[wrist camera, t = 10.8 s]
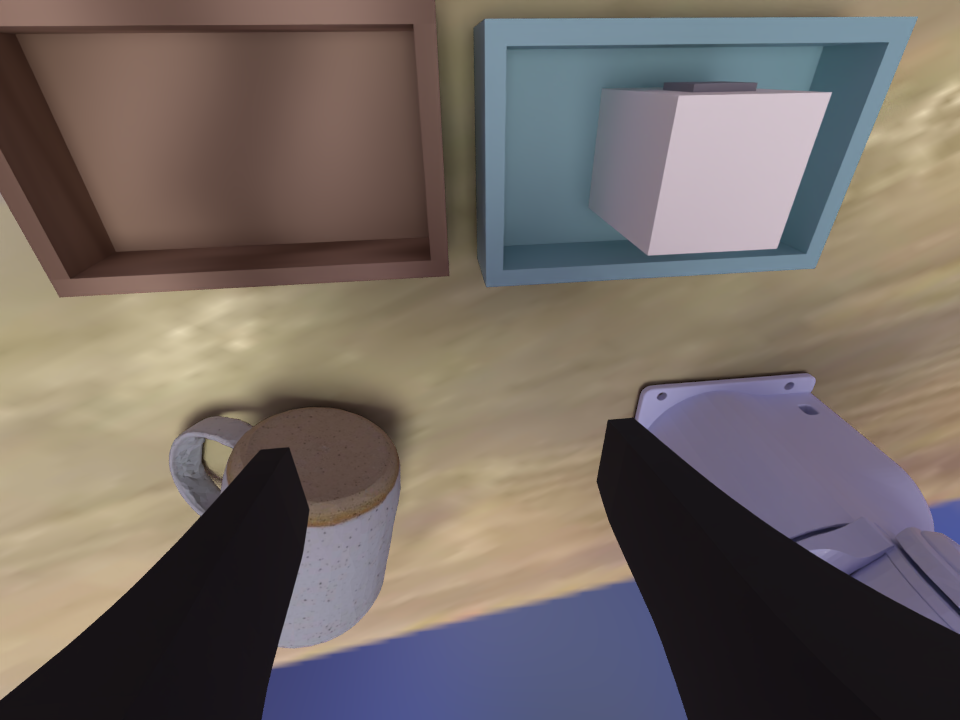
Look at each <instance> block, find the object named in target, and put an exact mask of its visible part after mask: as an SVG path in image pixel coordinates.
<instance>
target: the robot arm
mask: <svg viewBox="0 0 960 720" xmlns="http://www.w3.org/2000/svg"><path fill="white" fill-rule="evenodd" d="M815 382H816V380H815V378H814V377H813V376H812V375H810V374H808V373H802V374H790V375H777V376H764V377H751V378H739V379H726V380H713V381H701V382H688V383H675V384H663V385H651V386H647V387H646V388H644V389H643V390H642V392H641V394H640V398H639V402H638V407H637V411H636V416H635V419H634V418H625V419H613V420H608V422H607V428H606V433H605V439H604V444H603V449H602V455H601V460H600V466H599V471H598V477H597V484H598V488H599V491H600V494H601V498H602V501H603V504H604V507H605V511H606V514H607V517H608V520H609V523H610V525H611V527H612V530H613V532H614V534H615V536H616V539H617V541H618V543H619V545H620V548H621V550H622V552H623V554H624V557H625V559H626V561H627V563H628V565H629V568H630V570H631V572H632V574H633V576H634V579H635V581H636V583H637V585H638V587H639V590H640V592H641V594H642V596H643V599H644V601H645V603H646V605H647V607H648V609H649V612H650V614H651V616H652V619H653V621H654V623H655V626H656V628H657V631H658V634H659V636H660V639H661V641H662V644H663V647H664V650H665V653H666V656H667V659H668V661H669V664H670V667H671V670H672V673H673V675H674V679H675V681H676V684H677V687H678V691H679V694H680V696H681V700H682V703H683V705H684V709H685V712H686V715H687V718H688V720H960V545H958V544H957V543H956V542H954V541H952V539H950V538H949V537H947V536H946V535H944V534H942V533H937V532H934V524H933V518H932V515H931V512H930V509H929V507H928V505H927V503H926V500H925V499H924V497H923V495H922V493H921V491H920V490H919V488H918V487H917V485H916V484H915V482H914V481H913V480H912V479H911V477H910V476H909V475H908V474H907V473H906V472H905V471H904V470H903V469H902V468H901V467H900V466H899V465H898V464H897V463H895V462H894V461H893V460H892V459H890V458H889V457H888V456H887V455H886V454H884V453H883V452H882V451H881V450H880V449H878V448H877V447H876V446H875V445H873V444H872V443H871V442H870V441H869V440H867V439H866V438H865V437H864V436H863V435H861V434H860V433H859V432H858V431H856V430H855V429H854V428H853V427H852V426H850V425H849V424H848V423H847V422H846V421H844V420H843V419H842V418H841V417H839V416H838V415H837V414H836V413H835V412H833V411H832V410H831V409H830V408H828V407H827V406H826V405H825V404H824V403H822V402H821V401H820V400H819V399H818V398H816V397H815V396H814V395H813V394H811V391H812V389H813V387H814V385H815ZM662 392H663V393H662ZM660 393H662V394H661V395H659V396H658V394H660ZM309 510H310V509H309V506H308V503H307V500H306V497H305V494H304V491H303V488H302V485H301V482H300V478H299V475H298V472H297V469H296V466H295V463H294V460H293V457H292V454H291V451H290V448H289V447H284V448H272V449H261V450H260V451H259V452H258V453H257V454H256V455H255V456H254V457H253V458H252V459H251V460H250V462H249V463H248V464H247V465H246V466H245V467H244V468H243V469H242V471H241V472H240V473H239V474H238V475H237V476H236V477H235V479H234V480H233V481H232V482H231V483H230V484H229V485H228V487H227V488H226V489H225V490H224V491H223V492H222V493H221V494H220V496H219V497H218V498H217V499H216V500H215V501H214V502H213V504H212V505H211V506H210V507H209V508H208V509H207V510H206V511H205V512H204V513H203V514H202V516H201V517H200V518H199V519H198V520H197V521H196V522H195V523H194V524H193V525H192V527H191V528H190V529H189V530H188V531H187V532H186V533H185V534H184V535H183V536H182V537H181V538H180V539H179V541H178V542H177V543H176V544H175V545H174V546H173V547H172V548H171V549H170V550H169V551H168V552H167V553H166V554H165V555H164V556H163V557H162V558H161V559H160V560H159V561H158V562H157V563H156V564H155V565H154V566H153V567H152V568H151V569H150V570H149V571H148V572H147V573H146V574H145V575H144V576H143V577H142V578H141V579H140V580H139V581H138V582H137V583H136V584H135V585H134V586H133V587H132V588H131V589H130V590H129V591H128V592H127V593H126V594H124V595H123V596H122V597H121V598H120V599H119V600H118V601H117V602H116V603H115V604H114V605H113V606H112V607H110V608H109V609H108V610H107V611H106V612H105V613H104V614H103V615H102V616H100V617H99V618H98V619H97V620H96V621H95V622H94V623H93V624H91V625H90V626H89V627H88V628H87V629H86V630H85V631H84V632H82V633H81V634H80V635H79V636H78V637H77V638H76V639H74V640H73V641H72V642H71V643H70V644H69V645H67V646H66V647H65V648H64V649H63V650H61V651H60V652H59V653H58V654H57V655H55V656H54V657H53V658H52V659H50V660H49V661H48V662H47V663H46V664H44V665H43V666H42V667H41V668H39V669H38V670H37V671H36V672H35V673H33V674H32V675H31V676H30V677H28V678H27V679H26V680H25V681H24V682H22V683H21V684H20V685H19V686H17V687H16V688H15V689H14V690H13V691H11V692H10V693H9V694H8V695H6V696H5V697H4V698H3V699H2V700H0V720H261V719H262V713H263V708H264V702H265V697H266V692H267V686H268V683H269V678H270V674H271V670H272V666H273V662H274V658H275V655H276V651H277V647H278V644H279V640H280V637H281V633H282V629H283V626H284V622H285V619H286V615H287V611H288V608H289V604H290V601H291V597H292V593H293V590H294V586H295V582H296V579H297V575H298V571H299V568H300V564H301V560H302V556H303V551H304V545H305V538H306V532H307V525H308V517H309Z"/></svg>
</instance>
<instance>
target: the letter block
mask: <svg viewBox="0 0 960 720" xmlns="http://www.w3.org/2000/svg"><path fill="white" fill-rule="evenodd" d="M757 84H758V83H756V82H726V81H712V82H664V86H663V87H648V88H602V92H601V101H600V110H599V118H598V127H597V136H596V145H595V153H594V162H593V171H592V179H591V188H590V197H589V206H588V208H589V209H591V210H592V211H593V212H594V213H596V214H597V215H598V216H599V217H601V218H602V219H603V220H604V221H606V222H607V223H608V224H609V225H611V226H612V227H613V228H614V229H615V230H617V231H618V232H619V233H620V234H622V235H623V236H624V237H625V238H627V239H628V240H629V241H630V242H632V243H633V244H634V245H635V246H636V247H638V248H639V249H640V250H641V251H643V252H644V253H645V254H646V255H648V256H649V255H667V254H686V253H705V252H724V251H743V250H762V249H777V247H778V244H779V241H780V239H781V236H782V233H783V230H784V227H785V224H786V222H787V219H788V216H789V213H790V210H791V207H792V205H793V202H794V199H795V196H796V193H797V190H798V188H799V185H800V182H801V179H802V176H803V173H804V170H805V168H806V165H807V162H808V159H809V156H810V153H811V151H812V148H813V145H814V142H815V139H816V136H817V134H818V131H819V128H820V125H821V122H822V119H823V117H824V114H825V111H826V108H827V105H828V102H829V100H830V97H831V94H832V92H815V91H795V90H776V89H756V88H757Z"/></svg>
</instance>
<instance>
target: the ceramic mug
mask: <svg viewBox="0 0 960 720" xmlns="http://www.w3.org/2000/svg"><path fill="white" fill-rule="evenodd" d="M205 438H207V439H210V440H215V441H217V442H220V443H221V444H223V445H226V446H229V447H231V448H233V450H232V453H231V455H230V457H229V459H228V462H227V465H226V468H225V472H224V475H223V481H222V487H221V490H220V489H219V488H218V487H217V485H216V484H215V483H214V482H213V481H212V479H211V478H210V477H209V476H208V475H207V473H206V472H205V470H204V466H203V464H202V446H203V442H204V441H205ZM284 447H289V448H290V451H291V454H292V457H293V460H294V463H295V466H296V469H297V472H298V475H299V478H300V482H301V485H302V488H303V491H304V494H305V497H306V500H307V503H308V506H309V509H310V510H309V517H308V525H307V532H306V538H305V545H304V551H303V556H302V560H301V564H300V568H299V571H298V575H297V579H296V582H295V586H294V590H293V593H292V597H291V601H290V604H289V608H288V611H287V615H286V619H285V622H284V626H283V629H282V633H281V637H280V640H279V644H278V647H283V648H300V647H308V646H313V645H316V644H320V643H324V642H327V641H329V640H331V639H333V638H336V637H338V636H339V635H341V634H343V633H344V632H346V631H347V630H349V629H350V628H352V627H353V626H354V625H355V624H356V623H358V622H359V620H360V619H361V618H362V617H363V616H364V615H365V614H366V613H367V612H368V610H369V609H370V608H371V606H372V605H373V603H374V601H375V600H376V598H377V596H378V594H379V592H380V590H381V587H382V584H383V580H384V574H385V569H386V563H387V558H388V554H389V548H390V543H391V537H392V530H393V524H394V520H395V515H396V511H397V506H398V501H399V494H400V462H399V457H398V453H397V450H396V447H395V446H394V444H393V442H392V441H391V439H390V437H389V436H388V435H387V434H386V433H385V432H384V431H383V430H382V429H381V428H380V427H379V426H377V425H376V424H374V423H372V422H371V421H369V420H368V419H366V418H364V417H362V416H360V415H357V414H355V413H351V412H348V411H344V410H341V409H335V408H326V407H307V408H299V409H293V410H289V411H285V412H282V413H279V414H276V415H273V416H271V417H269V418H267V419H265V420H263V421H261V422H260V423H258V424H257V425H256V426H254V427H253V426H251V425H250V424H248V423H246V422H244V421H241V420H239V419H234V418H228V417H221V416H214V417H209V418H205V419H203V420H201V421H200V422H198V423H196V424H195V425H193V426H192V427H190V428H189V429H187V430H186V431H184V432H182V433H181V434H180V435H179V436H178V437H177V438H176V439H175V440H174V442H173V444H172V446H171V449H170V453H169V466H170V472H171V475H172V477H173V480H174V483H175V485H176V487H177V488H178V490H179V492H180V494H181V495H182V497H183V498H184V499H185V501H186V502H187V503H188V504H189V505H190V506H191V508H192V509H193V510H194V511H195V512H196V513H197V514H199V515H200V516H202V514H203V513H204V512H205V511H206V510H207V509H208V508H209V507H210V506H211V505H212V504H213V502H214V501H215V500H216V499H217V498H218V497H219V496H220V494H221V493H222V492H223V491H224V490H225V489H226V488H227V487H228V485H229V484H230V483H231V482H232V481H233V480H234V479H235V477H236V476H237V475H238V474H239V473H240V472H241V471H242V469H243V468H244V467H245V466H246V465H247V464H248V463H249V462H250V460H251V459H252V458H253V457H254V456H255V455H256V454H257V453H258V452H259V451H260V450H261V449H272V448H284Z"/></svg>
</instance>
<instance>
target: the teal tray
mask: <svg viewBox="0 0 960 720" xmlns="http://www.w3.org/2000/svg"><path fill="white" fill-rule="evenodd" d="M917 18H918V17H763V18H553V19H484V20H483V21H481V22H480V23H479V24H478V25H477V26H475V27H474V86H475V147H476V209H477V259H478V262H479V265H480V269H481V272H482V275H483V278H484V282H485V285H486V287H498V286H516V285H533V284H551V283H569V282H586V281H604V280H621V279H639V278H656V277H674V276H691V275H709V274H726V273H744V272H761V271H779V270H796V269H814V268H815V267H816V265H817V262H818V260H819V257H820V255H821V252H822V250H823V248H824V245H825V243H826V240H827V238H828V235H829V233H830V230H831V228H832V226H833V223H834V221H835V218H836V216H837V213H838V211H839V209H840V206H841V204H842V201H843V199H844V196H845V194H846V191H847V189H848V187H849V184H850V182H851V179H852V177H853V174H854V172H855V169H856V167H857V165H858V162H859V160H860V157H861V155H862V152H863V150H864V148H865V145H866V143H867V140H868V138H869V135H870V133H871V130H872V128H873V126H874V123H875V121H876V118H877V116H878V113H879V111H880V108H881V106H882V104H883V101H884V99H885V96H886V94H887V91H888V89H889V86H890V84H891V82H892V79H893V77H894V74H895V72H896V69H897V67H898V65H899V62H900V60H901V57H902V55H903V52H904V50H905V47H906V45H907V43H908V40H909V38H910V35H911V33H912V30H913V28H914V25H915V23H916V21H917ZM712 81H726V82H756V83H758V84H757V88H756V89H776V90H795V91H815V92H832V94H831V97H830V100H829V102H828V105H827V108H826V111H825V114H824V117H823V119H822V122H821V125H820V128H819V131H818V134H817V136H816V139H815V142H814V145H813V148H812V151H811V153H810V156H809V159H808V162H807V165H806V168H805V170H804V173H803V176H802V179H801V182H800V185H799V188H798V190H797V193H796V196H795V199H794V202H793V205H792V207H791V210H790V213H789V216H788V219H787V222H786V224H785V227H784V230H783V233H782V236H781V239H780V241H779V244H778V247H777V249H762V250H743V251H724V252H705V253H686V254H667V255H649V256H648V255H646V254H645V253H644V252H643V251H641V250H640V249H639V248H638V247H636V246H635V245H634V244H633V243H632V242H630V241H629V240H628V239H627V238H625V237H624V236H623V235H622V234H620V233H619V232H618V231H617V230H615V229H614V228H613V227H612V226H611V225H609V224H608V223H607V222H606V221H604V220H603V219H602V218H601V217H599V216H598V215H597V214H596V213H594V212H593V211H592V210H591V209H589V208H588V206H589V197H590V188H591V179H592V171H593V162H594V153H595V145H596V136H597V127H598V118H599V110H600V101H601V92H602V88H648V87H663V86H664V82H712Z"/></svg>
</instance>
